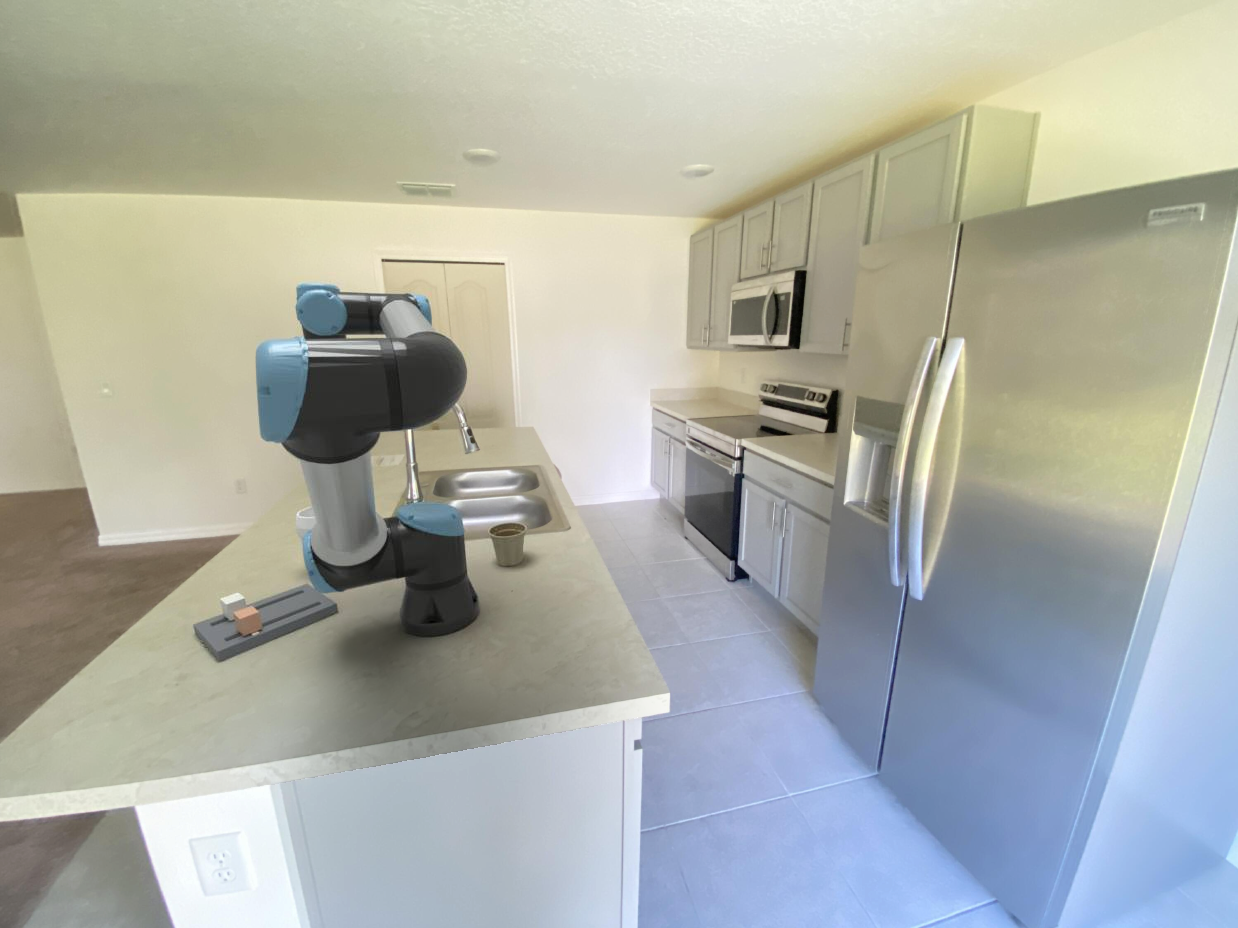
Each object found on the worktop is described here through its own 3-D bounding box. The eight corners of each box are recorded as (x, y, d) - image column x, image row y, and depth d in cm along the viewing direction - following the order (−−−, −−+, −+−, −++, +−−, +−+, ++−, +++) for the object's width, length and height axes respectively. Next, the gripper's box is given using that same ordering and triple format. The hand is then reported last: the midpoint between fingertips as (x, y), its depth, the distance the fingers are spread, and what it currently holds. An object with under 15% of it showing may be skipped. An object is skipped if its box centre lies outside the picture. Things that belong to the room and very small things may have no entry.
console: (338, 612, 103) (336, 602, 102) (219, 661, 87) (217, 651, 87) (308, 591, 111) (307, 582, 110) (195, 633, 95) (192, 623, 95)
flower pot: (483, 567, 122) (480, 534, 120) (500, 551, 131) (498, 520, 129) (518, 571, 120) (516, 538, 118) (534, 555, 129) (532, 523, 126)
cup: (332, 580, 115) (322, 520, 112) (293, 576, 118) (282, 516, 114) (363, 560, 126) (355, 504, 122) (327, 557, 128) (318, 501, 124)
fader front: (262, 628, 93) (259, 611, 92) (243, 636, 91) (239, 619, 90) (255, 622, 95) (251, 605, 94) (236, 629, 93) (232, 612, 92)
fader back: (248, 614, 98) (244, 598, 97) (229, 620, 95) (226, 604, 94) (241, 608, 100) (238, 592, 99) (223, 614, 97) (219, 598, 97)
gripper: (351, 363, 107) (365, 469, 113) (285, 366, 97) (305, 482, 103) (371, 364, 103) (385, 473, 109) (304, 368, 93) (324, 488, 99)
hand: (346, 478), depth 106 cm, fingers closed
